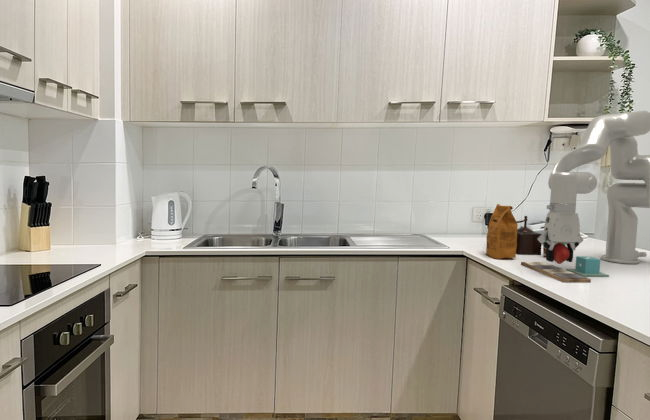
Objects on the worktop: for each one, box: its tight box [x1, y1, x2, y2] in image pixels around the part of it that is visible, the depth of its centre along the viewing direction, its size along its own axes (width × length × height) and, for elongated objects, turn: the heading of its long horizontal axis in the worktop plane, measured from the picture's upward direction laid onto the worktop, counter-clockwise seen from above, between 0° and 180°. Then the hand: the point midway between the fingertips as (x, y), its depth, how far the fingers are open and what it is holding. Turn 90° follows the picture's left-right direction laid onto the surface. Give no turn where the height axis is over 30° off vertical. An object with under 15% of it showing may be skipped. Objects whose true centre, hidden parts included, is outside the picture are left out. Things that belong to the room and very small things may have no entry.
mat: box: [565, 268, 610, 278], centre depth 136 cm, size 9×9×1 cm
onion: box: [553, 243, 570, 265], centre depth 133 cm, size 6×6×8 cm
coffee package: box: [485, 203, 519, 260], centre depth 162 cm, size 10×12×22 cm
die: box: [574, 255, 601, 274], centre depth 136 cm, size 5×5×5 cm
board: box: [520, 261, 592, 283], centre depth 137 cm, size 9×25×1 cm, turn 2°
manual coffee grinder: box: [516, 215, 543, 256], centre depth 173 cm, size 16×11×18 cm
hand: (559, 260), depth 133 cm, fingers closed on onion, 5 cm apart
